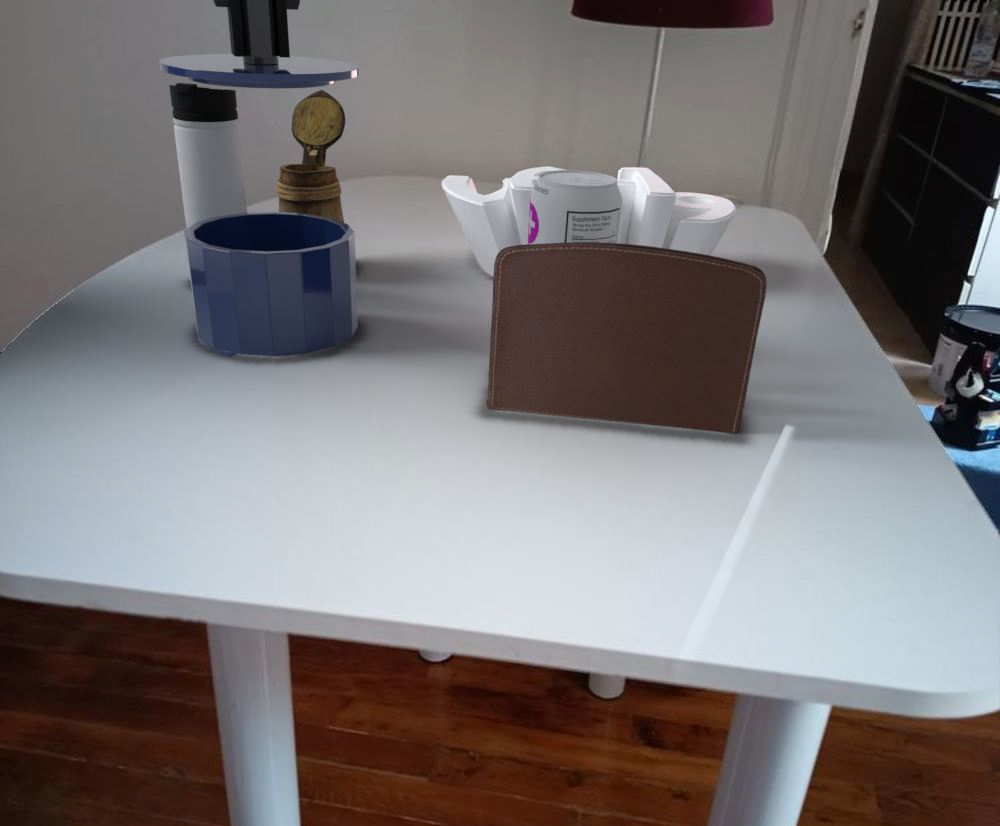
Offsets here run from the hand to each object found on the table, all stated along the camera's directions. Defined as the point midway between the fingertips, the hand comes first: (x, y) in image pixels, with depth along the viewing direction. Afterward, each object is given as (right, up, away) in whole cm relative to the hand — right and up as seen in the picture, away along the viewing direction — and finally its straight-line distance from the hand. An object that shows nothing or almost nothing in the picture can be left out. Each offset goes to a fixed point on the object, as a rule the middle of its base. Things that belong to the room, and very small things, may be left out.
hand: (260, 54), depth 73 cm
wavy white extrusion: (+29, -8, +37) cm, 48 cm away
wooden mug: (-2, -8, +33) cm, 34 cm away
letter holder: (+29, -28, +3) cm, 40 cm away
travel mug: (-11, -13, +25) cm, 30 cm away
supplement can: (+26, -20, +15) cm, 36 cm away
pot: (-2, -20, +13) cm, 24 cm away
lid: (0, -1, +1) cm, 1 cm away
